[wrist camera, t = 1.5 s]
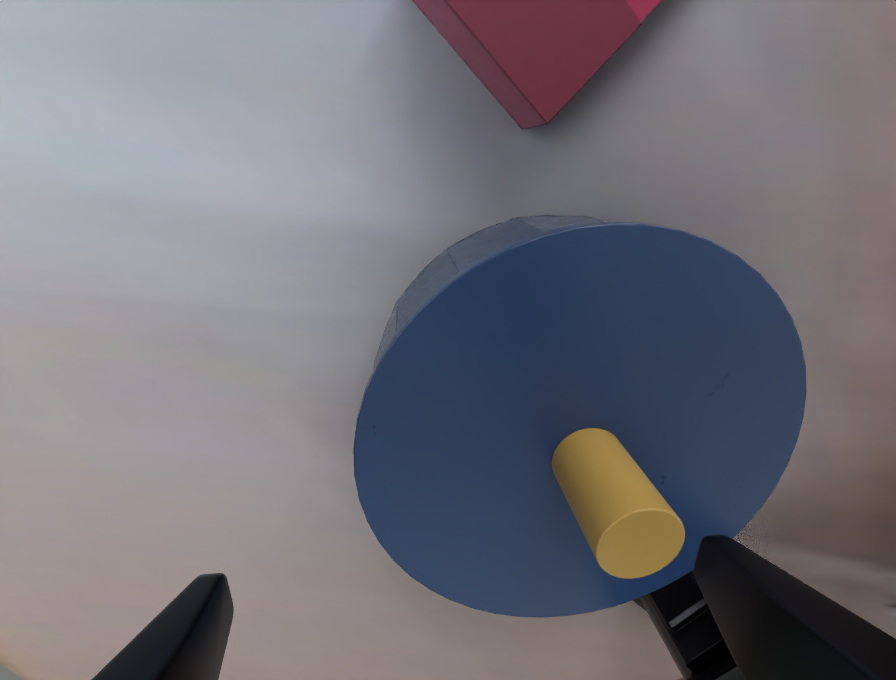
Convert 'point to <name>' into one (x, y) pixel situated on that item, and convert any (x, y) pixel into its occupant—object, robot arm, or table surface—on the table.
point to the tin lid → (578, 418)
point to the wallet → (535, 46)
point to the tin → (468, 261)
